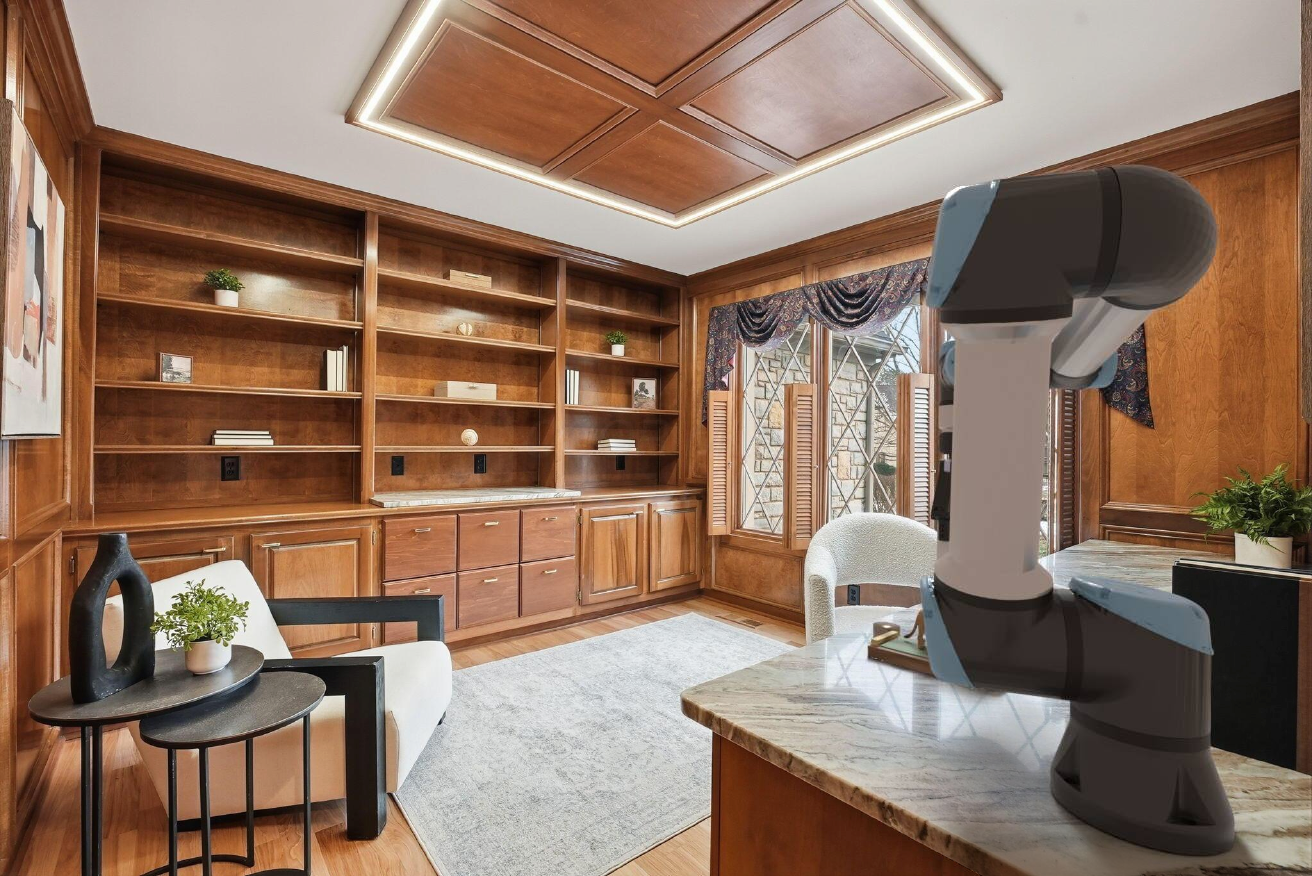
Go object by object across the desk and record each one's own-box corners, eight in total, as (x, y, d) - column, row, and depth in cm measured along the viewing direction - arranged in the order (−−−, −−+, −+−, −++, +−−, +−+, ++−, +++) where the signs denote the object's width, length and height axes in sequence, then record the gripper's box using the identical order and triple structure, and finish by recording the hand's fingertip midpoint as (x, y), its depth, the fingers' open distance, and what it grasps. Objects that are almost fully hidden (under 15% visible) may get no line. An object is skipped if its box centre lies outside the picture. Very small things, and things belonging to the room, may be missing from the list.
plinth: (993, 691, 96) (993, 672, 97) (867, 656, 112) (867, 640, 112) (1015, 676, 103) (1015, 658, 103) (893, 645, 119) (894, 629, 119)
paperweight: (892, 646, 118) (892, 630, 118) (868, 640, 122) (868, 625, 122) (904, 641, 122) (904, 625, 122) (880, 635, 125) (880, 620, 125)
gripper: (958, 427, 94) (957, 568, 94) (1011, 434, 112) (1010, 553, 111) (909, 428, 100) (907, 561, 99) (967, 434, 117) (966, 547, 116)
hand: (962, 557), depth 105 cm, fingers open, 13 cm apart
